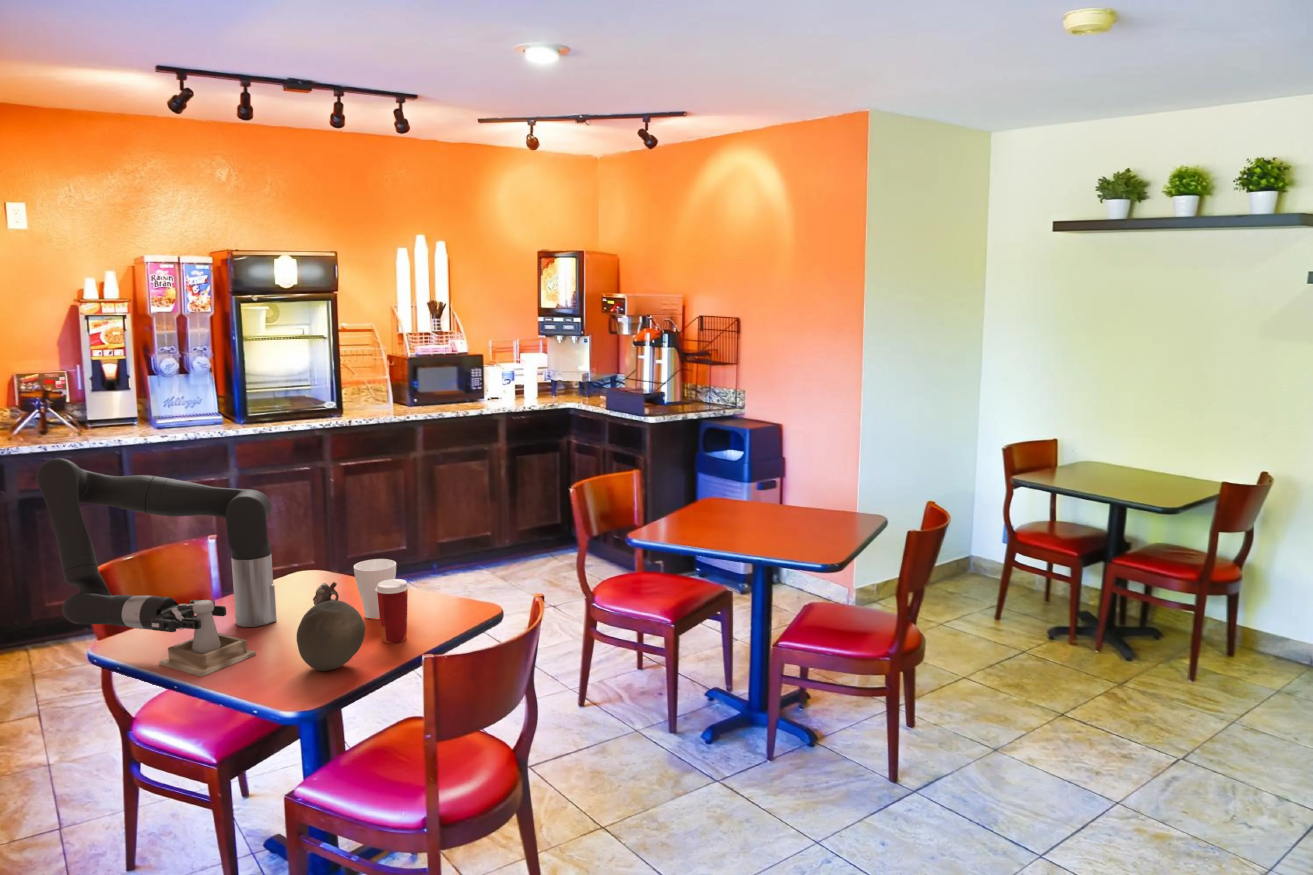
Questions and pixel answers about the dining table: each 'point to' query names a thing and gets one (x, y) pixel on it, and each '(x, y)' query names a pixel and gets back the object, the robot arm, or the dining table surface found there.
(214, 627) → the salt shaker
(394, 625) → the paper cup
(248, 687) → the dining table surface
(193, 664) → the tray
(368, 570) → the cup
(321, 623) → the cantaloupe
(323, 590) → the figurine
